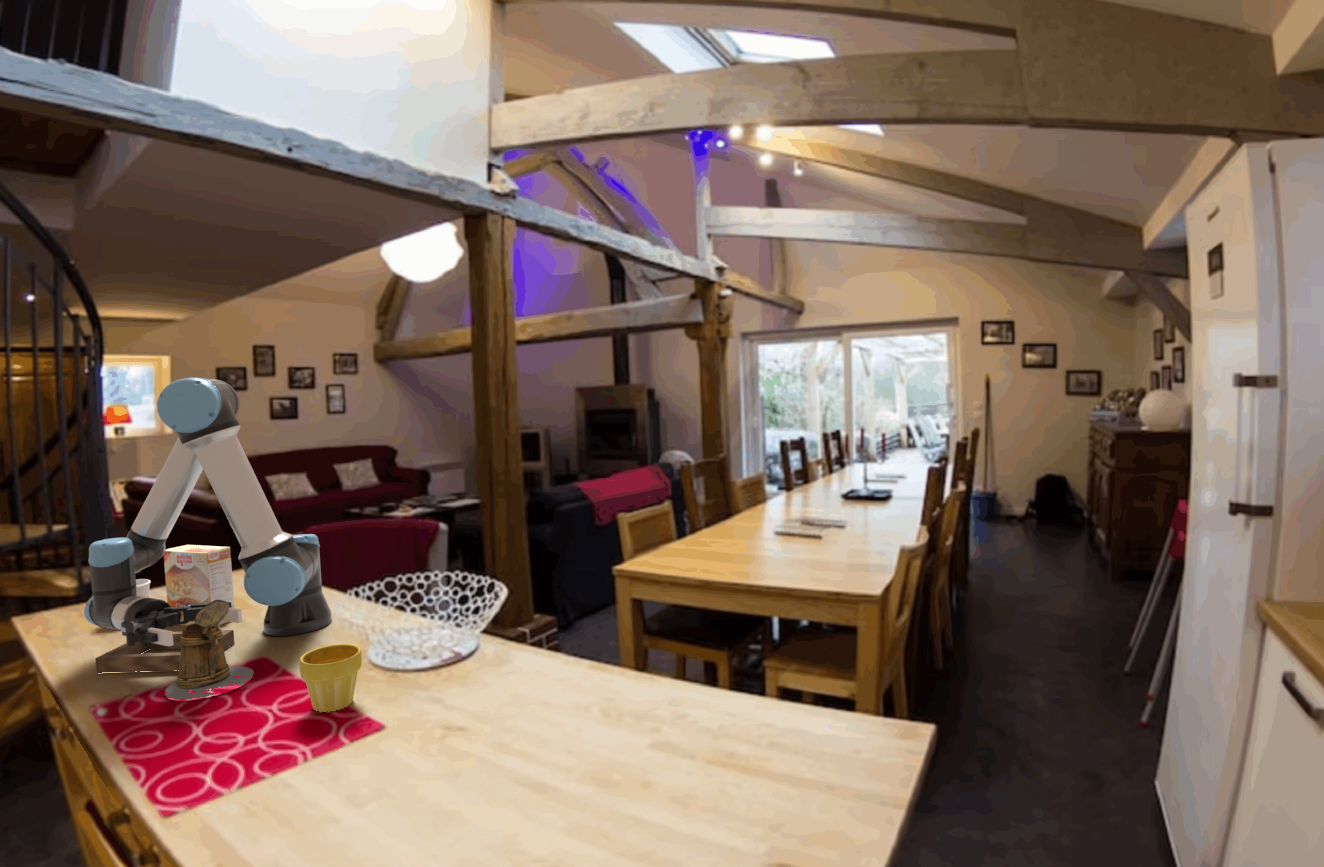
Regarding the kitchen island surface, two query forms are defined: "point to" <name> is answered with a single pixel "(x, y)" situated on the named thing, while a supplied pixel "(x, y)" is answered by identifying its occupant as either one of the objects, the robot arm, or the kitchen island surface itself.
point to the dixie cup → (142, 587)
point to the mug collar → (148, 656)
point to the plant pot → (331, 675)
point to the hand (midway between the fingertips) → (207, 626)
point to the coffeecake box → (198, 575)
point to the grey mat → (184, 692)
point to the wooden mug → (203, 648)
